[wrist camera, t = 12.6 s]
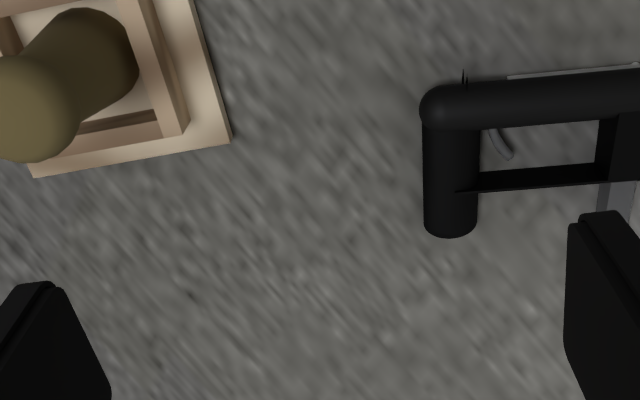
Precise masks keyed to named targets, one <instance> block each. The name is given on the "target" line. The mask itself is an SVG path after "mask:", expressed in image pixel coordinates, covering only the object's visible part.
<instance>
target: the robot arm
mask: <svg viewBox="0 0 640 400" xmlns="http://www.w3.org/2000/svg"><path fill="white" fill-rule="evenodd" d="M563 342H564V349H565V353H566V356H567V359H568V361H569V363H570V365H571V368H572V370H573V372H574V374H575V377H576V379H577V381H578V383H579V386H580V388H581V390H582V392H583V395H584V397H585V399H586V400H640V239H639V237H638V236H637V235H636V234H635V232H634V231H633V230H632V228H631V227H630V226H629V224H628V223H627V222H626V221H625V219H624V218H623V217H622V215H621V214H620V213H619V212H618V211H617V210H608V211H600V212H592V213H584V214H581V215H580V216H579V219H578V223H571V224H570V225H569V227H568V237H567V260H566V283H565V306H564V329H563ZM111 397H112V392H111V386H110V384H109V382H108V379H107V377H106V375H105V373H104V371H103V369H102V367H101V365H100V363H99V361H98V359H97V357H96V355H95V353H94V351H93V349H92V346H91V344H90V342H89V340H88V338H87V336H86V334H85V332H84V330H83V328H82V326H81V324H80V322H79V320H78V318H77V316H76V313H75V311H74V309H73V307H72V305H71V303H70V301H69V299H68V297H67V295H66V293H65V291H64V290H63V289H62V288H61V287H56V286H55V284H53V283H52V282H51V281H41V282H33V283H25V284H19V285H17V286H16V287H15V288H14V289H13V290H12V291H11V292H10V294H9V295H8V297H7V298H6V299H5V301H4V302H3V303H2V305H1V306H0V400H111Z"/></svg>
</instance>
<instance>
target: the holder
mask: <svg viewBox="0 0 640 400" xmlns="http://www.w3.org/2000/svg"><path fill="white" fill-rule="evenodd" d="M79 7H89V8H93V9H96V10H100V11H103V12H105V13H107V14H108V15H110V16H112V17H113V18H115V19H117V20H118V21H119V22H120V23H121V24H122V25H123V26H124V27H125V29H126V32H127V35H128V38H129V41H130V43H131V46H132V49H133V52H134V55H135V58H136V60H137V63H138V66H139V69H140V70H139V77H138V79H137V81H136V83H135V85H134V87H133V89H132V90H131V91H130V92H129V93H128V94H126V95H125V96H124V97H123V98H122V99H120V100H118V101H117V102H115V103H113V104H111V105H110V106H108V107H106V108H105V109H103V110H101V111H99V112H98V113H96V114H94V115H93V116H91V117H89V118H87V119H86V120H84V121H82V122H81V123H80V126H79V129H78V132H77V134H76V136H75V138H74V140H73V141H72V143H71V144H70V145H69V146H68V147H67V148H66V149H64V150H63V151H62V152H61V153H60V154H59V155H57V156H55V157H53V158H50V159H47V160H45V161H42V162H39V163H26V164H27V166H28V168H29V170H30V172H31V174H32V176H33V178H39V177H44V176H50V175H55V174H61V173H66V172H72V171H78V170H83V169H89V168H94V167H100V166H105V165H111V164H116V163H122V162H128V161H133V160H139V159H144V158H150V157H155V156H161V155H166V154H172V153H178V152H183V151H189V150H194V149H200V148H205V147H211V146H216V145H222V144H227V143H230V142H231V140H232V137H233V135H232V131H231V128H230V124H229V121H228V117H227V114H226V111H225V107H224V104H223V100H222V97H221V93H220V90H219V87H218V83H217V80H216V76H215V73H214V70H213V66H212V63H211V59H210V56H209V52H208V49H207V46H206V42H205V39H204V35H203V32H202V29H201V25H200V22H199V18H198V15H197V11H196V8H195V5H194V1H193V0H0V57H1V56H13V55H18V54H19V53H20V52H21V51H22V50H23V49H24V48H25V47H26V46H27V45H28V44H29V43H30V42H31V41H32V40H33V39H34V38H35V37H36V36H37V35H38V34H39V32H40V31H41V30H42V29H43V28H44V27H45V26H46V25H47V24H48V23H49V22H50V21H51V20H52V19H53V18H54V17H55V16H56V15H57V14H58V13H61V12H63V11H65V10H68V9H70V8H79Z"/></svg>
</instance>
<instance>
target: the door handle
mask: <svg viewBox="0 0 640 400" xmlns="http://www.w3.org/2000/svg"><path fill="white" fill-rule="evenodd" d="M419 115H420V118H421V121H422V154H423V210H424V227H425V229H426V230H427V231H428V232H429V233H430V234H432V235H434V236H436V237H439V238H446V239H451V238H458V237H462V236H464V235H466V234H468V233H470V232H471V231H472V230H473V229H474V228H475V226H476V223H477V205H478V193H488V192H500V191H513V190H525V189H538V188H550V187H563V186H575V185H587V184H600V186H599V192H598V200H597V207H596V212H600V211H608V210H617V211H618V212H619V213H620V214H621V215H622V217H623V218H624V219H625V221H626V222H627V223H628V222H629V217H630V212H631V207H632V202H633V197H634V192H635V187H636V182H637V181H640V63H638V62H633V63H631V64H629V65H618V66H608V67H597V68H586V69H576V70H565V71H555V72H544V73H533V74H523V75H512V76H507V80H500V81H490V82H479V83H468V80H467V79H466V84H464V71H463V76H462V84H457V85H447V86H438V87H435V88H433V89H431V90H429V91H428V92H427V93H426V94H425V95H424V96H423V98H422V100H421V102H420V106H419ZM590 120H600V121H599V129H598V137H597V145H596V152H595V160H594V163H586V164H573V165H561V166H549V167H537V168H525V169H513V170H501V171H489V172H479V155H480V130H487V129H488V131H489V135H490V138H491V140H492V142H493V144H494V146H495V147H496V149H497V150H498V152H499V153H500V154H501V155H502V156H503V158H504V159H505V160H507V161H509V160H511V159H512V158H513V156H514V153H513V152H512V151H511V150H510V149H509V148H508V147H507V145H506V144H505V143H504V141H503V140H502V138H501V136H500V135H499V132H498V130H497V129H499V128H510V127H522V126H533V125H544V124H556V123H567V122H579V121H590Z"/></svg>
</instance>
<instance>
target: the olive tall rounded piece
mask: <svg viewBox="0 0 640 400" xmlns="http://www.w3.org/2000/svg"><path fill="white" fill-rule="evenodd" d="M139 70H140V69H139V66H138V63H137V60H136V58H135V55H134V52H133V49H132V46H131V43H130V41H129V38H128V35H127V32H126V29H125V27H124V26H123V25H122V24H121V23H120V22H119V21H118V20H117V19H115V18H113V17H112V16H110V15H108V14H107V13H105V12H103V11H100V10H96V9H93V8H89V7H79V8H70V9H68V10H65V11H63V12H61V13H58V14H57V15H56V16H55V17H54V18H53V19H52V20H51V21H50V22H49V23H48V24H47V25H46V26H45V27H44V28H43V29H42V30H41V31H40V32H39V34H38V35H37V36H36V37H35V38H34V39H33V40H32V41H31V42H30V43H29V44H28V45H27V46H26V47H25V48H24V49H23V50H22V51H21V52H20V53H19V54H18V55H13V56H1V57H0V158H2V159H5V160H9V161H13V162H17V163H39V162H42V161H45V160H47V159H50V158H53V157H55V156H57V155H59V154H60V153H61V152H62V151H63V150H64V149H66V148H67V147H68V146H69V145H70V144H71V143H72V141H73V140H74V138H75V136H76V134H77V132H78V129H79V126H80V123H81V122H82V121H84V120H86V119H87V118H89V117H91V116H93V115H94V114H96V113H98V112H99V111H101V110H103V109H105V108H106V107H108V106H110V105H111V104H113V103H115V102H117V101H118V100H120V99H122V98H123V97H124V96H125V95H126V94H128V93H129V92H130V91H131V90H132V89H133V87H134V85H135V83H136V81H137V79H138V77H139Z"/></svg>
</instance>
